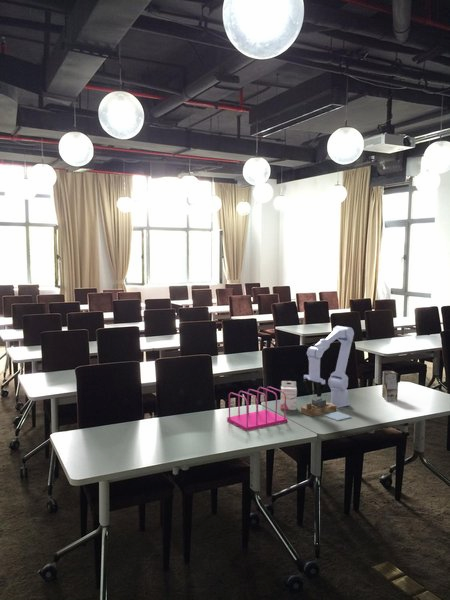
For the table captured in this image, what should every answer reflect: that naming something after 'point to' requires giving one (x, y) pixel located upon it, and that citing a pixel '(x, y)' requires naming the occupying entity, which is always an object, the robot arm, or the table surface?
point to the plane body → (317, 409)
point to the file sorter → (256, 413)
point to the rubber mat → (337, 416)
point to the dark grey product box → (319, 402)
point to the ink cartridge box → (289, 395)
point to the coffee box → (390, 386)
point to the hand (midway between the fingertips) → (314, 394)
